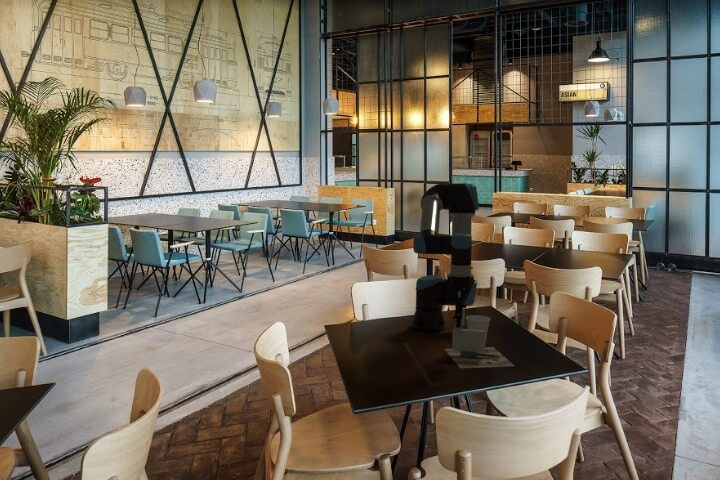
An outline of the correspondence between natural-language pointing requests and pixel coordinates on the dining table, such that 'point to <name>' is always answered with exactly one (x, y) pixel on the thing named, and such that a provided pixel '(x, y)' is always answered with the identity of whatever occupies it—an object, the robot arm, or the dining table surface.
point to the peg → (470, 343)
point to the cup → (478, 323)
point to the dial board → (480, 359)
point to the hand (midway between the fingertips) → (459, 330)
